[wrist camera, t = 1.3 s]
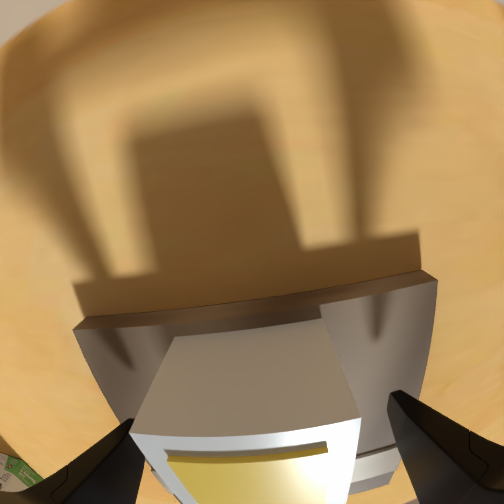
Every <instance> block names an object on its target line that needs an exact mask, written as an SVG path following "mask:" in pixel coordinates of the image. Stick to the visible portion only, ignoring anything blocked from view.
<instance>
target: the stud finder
mask: <svg viewBox="0 0 504 504" xmlns="http://www.w3.org/2000/svg"><path fill="white" fill-rule="evenodd" d="M361 418H362V417H361V415H360V412H359V409H358V407H357V404H356V401H355V399H354V396H353V394H352V391H351V388H350V386H349V383H348V381H347V378H346V376H345V373H344V371H343V368H342V366H341V363H340V361H339V358H338V356H337V353H336V351H335V348H334V346H333V344H332V341H331V339H330V336H329V334H328V331H327V329H326V327H325V324H324V322H323V320H322V318H320V319H314V320H309V321H303V322H296V323H290V324H283V325H277V326H270V327H262V328H255V329H247V330H239V331H230V332H221V333H212V334H201V335H190V336H178V337H174V339H173V341H172V343H171V345H170V347H169V349H168V351H167V353H166V355H165V357H164V359H163V361H162V363H161V366H160V368H159V370H158V372H157V374H156V376H155V378H154V380H153V382H152V384H151V386H150V388H149V390H148V393H147V395H146V397H145V399H144V401H143V403H142V405H141V407H140V410H139V412H138V414H137V416H136V418H135V420H134V423H133V425H132V427H131V429H130V431H129V434H130V435H131V437H132V438H133V440H134V441H135V443H136V444H137V446H138V447H139V449H140V450H141V452H142V453H143V454H144V456H145V457H146V459H147V460H148V461H149V463H150V464H151V465H152V467H153V468H154V469H155V471H156V472H157V473H158V474H159V476H160V477H161V478H162V479H163V481H164V482H165V483H166V484H167V486H168V487H169V488H170V489H171V490H172V492H173V493H174V494H175V495H176V496H177V497H178V499H179V500H180V501H181V502H182V503H183V504H346V501H347V497H348V493H349V488H350V484H351V479H352V474H353V469H354V464H355V458H356V452H357V446H358V440H359V433H360V426H361Z"/></svg>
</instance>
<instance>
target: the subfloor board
mask: <svg viewBox="0 0 504 504" xmlns="http://www.w3.org/2000/svg"><path fill="white" fill-rule="evenodd" d="M437 284H438V280H437V279H435V278H434V277H432V276H431V275H429V274H428V273H426V272H425V271H423V270H419V271H415V272H410V273H405V274H401V275H396V276H391V277H386V278H381V279H376V280H371V281H365V282H360V283H355V284H349V285H344V286H338V287H333V288H327V289H321V290H315V291H309V292H303V293H297V294H290V295H284V296H277V297H270V298H264V299H257V300H249V301H242V302H235V303H227V304H219V305H211V306H202V307H194V308H185V309H175V310H166V311H156V312H145V313H134V314H122V315H109V316H94V317H86V318H85V319H84V320H83V321H82V322H80V323H79V324H78V325H77V326H76V327H75V328H74V329H73V332H74V334H75V337H76V339H77V341H78V344H79V346H80V348H81V351H82V353H83V355H84V357H85V359H86V361H87V363H88V366H89V368H90V370H91V372H92V374H93V376H94V378H95V380H96V382H97V383H98V385H99V387H100V389H101V391H102V393H103V395H104V396H105V398H106V400H107V402H108V404H109V405H110V407H111V409H112V410H113V412H114V414H115V415H116V417H117V419H118V420H119V422H120V424H122V423H123V422H124V421H125V420H127V419H128V418H136V416H137V414H138V412H139V410H140V407H141V405H142V403H143V401H144V399H145V397H146V395H147V393H148V390H149V388H150V386H151V384H152V382H153V380H154V378H155V376H156V374H157V372H158V370H159V368H160V366H161V363H162V361H163V359H164V357H165V355H166V353H167V351H168V349H169V347H170V345H171V343H172V341H173V339H174V337H178V336H190V335H201V334H212V333H221V332H230V331H239V330H247V329H255V328H262V327H270V326H277V325H283V324H290V323H296V322H303V321H309V320H314V319H320V318H322V320H323V322H324V324H325V327H326V329H327V331H328V334H329V336H330V339H331V341H332V344H333V346H334V348H335V351H336V353H337V356H338V358H339V361H340V363H341V366H342V368H343V371H344V373H345V376H346V378H347V381H348V383H349V386H350V388H351V391H352V394H353V396H354V399H355V401H356V404H357V407H358V409H359V412H360V415H361V417H362V418H361V426H360V433H359V440H358V446H357V452H356V458H355V464H354V469H353V474H352V479H351V484H350V488H349V493H348V495H351V494H355V493H359V492H363V491H367V490H370V489H374V488H377V487H381V486H384V485H387V484H389V482H390V480H391V478H392V476H393V473H394V471H395V470H397V468H398V466H399V463H400V461H401V456H400V453H399V451H398V448H397V446H396V442H395V439H394V435H393V432H392V428H391V425H390V421H389V418H388V414H387V403H388V398H389V394H390V392H393V391H396V390H403V391H404V392H406V393H408V394H409V395H411V396H413V397H414V398H416V399H417V400H419V396H420V392H421V388H422V383H423V379H424V375H425V370H426V365H427V360H428V355H429V349H430V344H431V337H432V331H433V323H434V316H435V307H436V297H437ZM145 460H146V462H147V463H148V464H149V466H150V467H151V468H152V469H151V472H152V473H153V474H154V476H155V477H156V478H157V479H158V481H159V482H160V483H161V484H162V485H163V487H164V488H165V489H166V490H167V491H168V492H169V493H170V494H173V495H174V496H175V497H176V499H177V500H178V501H179V502H180V503H181V504H183V503H182V502H181V501H180V500H179V499H178V497H177V496H176V495H175V494H174V493H173V492H172V490H171V489H170V488H169V487H168V486H167V484H166V483H165V482H164V481H163V479H162V478H161V477H160V476H159V474H158V473H157V472H156V471H155V469H154V468H153V467H152V465H151V464H150V463H149V461H148V460H147V459H146V457H145Z"/></svg>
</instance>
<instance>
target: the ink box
mask: <svg viewBox="0 0 504 504" xmlns="http://www.w3.org/2000/svg"><path fill="white" fill-rule="evenodd" d="M42 480H43V479H42V478H41V477H40V476H39V475H38V474H36V473H35V472H34V471H33V470H32V469H31V468H30V467H29V466H28V465H27V464H26V463H25V462H24V461H23V460H20V459H17V458H14V457H11V456H8V455H5V454H2V453H0V491H7V492H19V491H23V490H25V489H27V488H29V487H31V486H33V485H35V484H37V483H38V482H40V481H42Z"/></svg>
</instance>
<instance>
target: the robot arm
mask: <svg viewBox="0 0 504 504" xmlns="http://www.w3.org/2000/svg"><path fill="white" fill-rule="evenodd" d="M387 414H388V418H389V421H390V425H391V428H392V432H393V435H394V439H395V442H396V446H397V448H398V451H399V453H400V456H401V458H402V461H403V463H404V465H405V468H406V470H407V473H408V475H409V478H410V480H411V483H412V485H413V488H414V490H415V493H416V495H417V498H418V501H419V503H420V504H504V446H502V445H499V444H497V443H494V442H492V441H489V440H487V439H485V438H483V437H481V436H479V435H478V434H476V433H474V432H472V431H470V432H469V429H467V428H465V427H463V426H462V425H460V424H458V423H456V422H455V421H453V420H451V419H449V418H448V417H446V416H444V415H443V414H441V413H439V412H438V411H436V410H434V409H432V408H431V407H429V406H427V405H426V404H424V403H422V402H421V401H419V400H417V399H416V398H414V397H413V396H411V395H409V394H408V393H406V392H404V391H403V390H396V391H393V392H390V394H389V398H388V403H387ZM134 420H135V418H128V419H127V420H125V421H124V422H123V423H122V424H120V425H119V426H118V427H116V428H115V429H114V430H113V431H111V432H110V433H109V434H107V435H106V436H105V437H104V438H102V439H101V440H100V441H98V442H97V443H96V444H94V445H93V446H92V447H90V448H89V449H88V450H86V451H85V452H84V453H82V454H81V455H80V456H78V457H77V458H76V459H74V460H73V461H71V462H70V463H69V464H68V465H66V466H64V467H63V468H62V469H60V470H59V471H57V472H56V473H54V474H53V475H51V476H49V477H47V478H46V479H44V480H42V481H40V482H38V483H37V484H35V485H33V486H31V487H29V488H27V489H25V490H23V491H19V492H7V491H0V504H135V503H136V499H137V494H138V490H139V486H140V482H141V478H142V474H143V469H144V463H145V456H144V454H143V453H142V452H141V450H140V449H139V447H138V446H137V444H136V443H135V441H134V440H133V438H132V437H131V435H130V434H129V431H130V429H131V427H132V425H133V423H134Z"/></svg>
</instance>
